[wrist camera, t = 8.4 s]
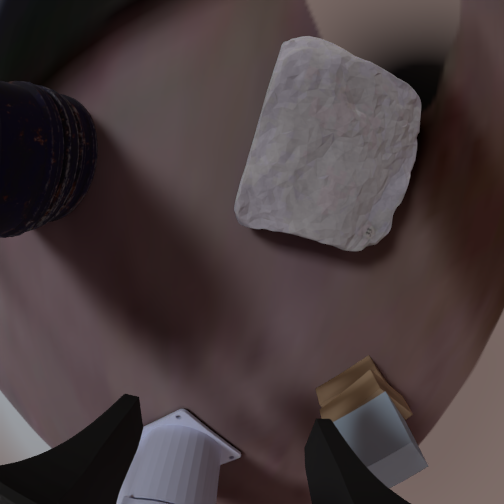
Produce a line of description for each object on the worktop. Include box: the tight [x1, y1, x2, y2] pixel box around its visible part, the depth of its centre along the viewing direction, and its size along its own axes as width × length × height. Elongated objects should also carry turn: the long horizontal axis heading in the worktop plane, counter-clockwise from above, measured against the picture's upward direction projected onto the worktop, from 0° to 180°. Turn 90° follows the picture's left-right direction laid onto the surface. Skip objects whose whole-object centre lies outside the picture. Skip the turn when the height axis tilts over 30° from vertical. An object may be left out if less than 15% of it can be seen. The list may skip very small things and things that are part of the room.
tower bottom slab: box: [316, 356, 388, 407], centre depth 22 cm, size 5×5×2 cm
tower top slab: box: [320, 369, 413, 422], centre depth 20 cm, size 5×5×2 cm
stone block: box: [234, 36, 421, 251], centre depth 17 cm, size 12×5×10 cm
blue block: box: [333, 391, 428, 488], centre depth 16 cm, size 4×4×5 cm
